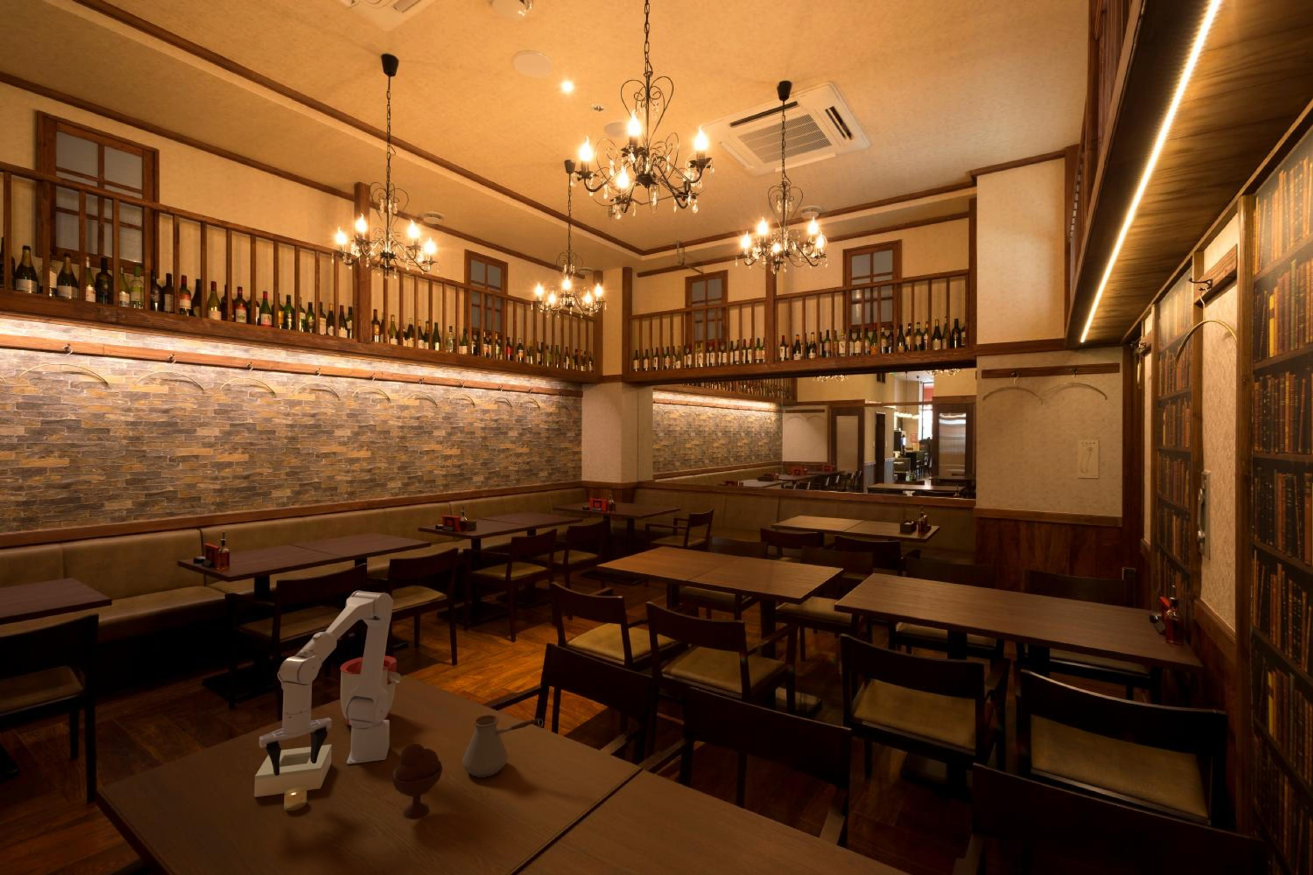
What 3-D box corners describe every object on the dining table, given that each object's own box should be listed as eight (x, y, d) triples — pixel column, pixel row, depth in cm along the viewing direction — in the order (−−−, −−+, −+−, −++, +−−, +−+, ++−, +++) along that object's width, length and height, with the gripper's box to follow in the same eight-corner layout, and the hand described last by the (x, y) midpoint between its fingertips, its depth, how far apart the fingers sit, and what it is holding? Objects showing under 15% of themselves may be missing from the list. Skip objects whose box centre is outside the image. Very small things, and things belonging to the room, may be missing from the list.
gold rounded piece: (308, 798, 143) (308, 785, 143) (303, 809, 139) (304, 796, 139) (287, 801, 142) (287, 788, 142) (281, 812, 138) (281, 799, 138)
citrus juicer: (387, 731, 177) (389, 663, 177) (328, 731, 176) (330, 662, 177) (408, 708, 192) (410, 645, 193) (353, 707, 192) (355, 644, 192)
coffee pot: (453, 777, 153) (454, 718, 153) (476, 755, 164) (477, 700, 165) (531, 789, 149) (533, 728, 149) (549, 766, 160) (550, 709, 160)
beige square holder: (330, 763, 159) (331, 744, 159) (320, 788, 147) (321, 767, 147) (270, 770, 155) (270, 751, 155) (254, 796, 143) (255, 775, 143)
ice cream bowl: (393, 831, 132) (395, 762, 132) (389, 803, 142) (391, 739, 142) (444, 818, 137) (445, 751, 137) (437, 792, 146) (438, 730, 147)
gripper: (325, 695, 149) (323, 750, 149) (256, 712, 139) (254, 772, 138) (335, 704, 144) (333, 761, 144) (264, 723, 134) (262, 784, 133)
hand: (295, 767), depth 141 cm, fingers open, 7 cm apart
